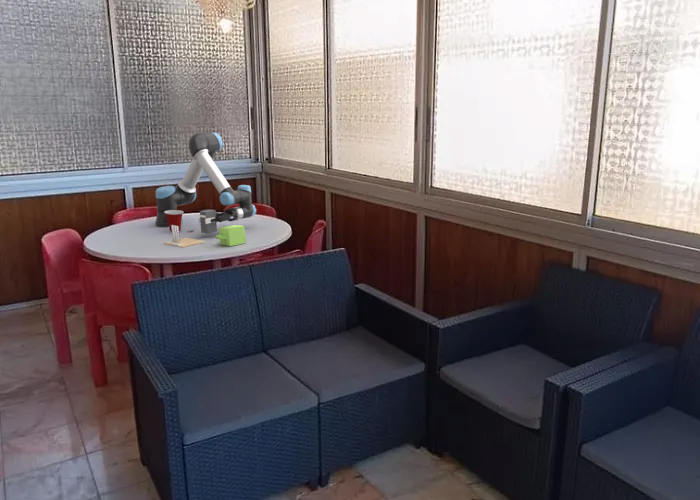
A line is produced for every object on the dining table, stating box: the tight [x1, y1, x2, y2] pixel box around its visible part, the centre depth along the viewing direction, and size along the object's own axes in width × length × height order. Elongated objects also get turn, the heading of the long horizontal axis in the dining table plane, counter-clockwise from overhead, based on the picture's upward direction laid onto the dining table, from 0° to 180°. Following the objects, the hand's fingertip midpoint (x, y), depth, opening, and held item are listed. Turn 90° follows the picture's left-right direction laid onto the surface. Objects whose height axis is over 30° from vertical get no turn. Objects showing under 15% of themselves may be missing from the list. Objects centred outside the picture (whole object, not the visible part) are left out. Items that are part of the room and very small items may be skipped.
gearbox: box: [215, 224, 247, 247], centre depth 313 cm, size 18×10×10 cm, turn 140°
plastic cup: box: [165, 209, 184, 233], centre depth 345 cm, size 11×11×12 cm
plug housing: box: [199, 209, 218, 234], centre depth 328 cm, size 5×7×12 cm
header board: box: [163, 225, 206, 248], centre depth 316 cm, size 16×15×10 cm
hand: (202, 220), depth 324 cm, fingers closed on plug housing, 5 cm apart
